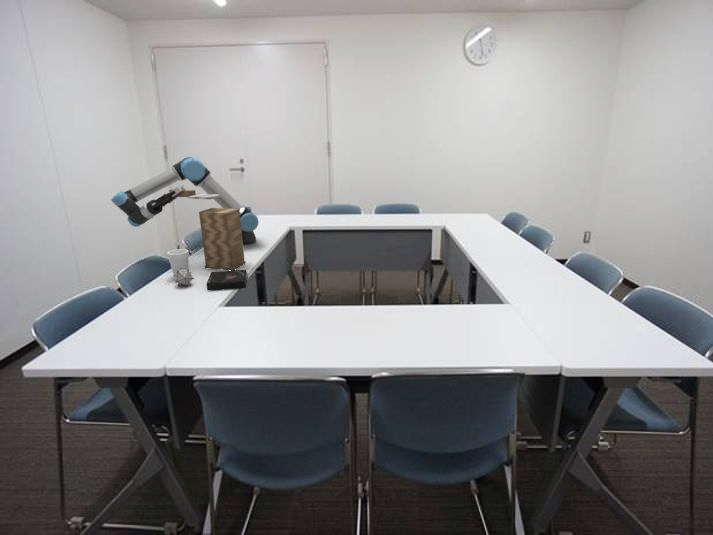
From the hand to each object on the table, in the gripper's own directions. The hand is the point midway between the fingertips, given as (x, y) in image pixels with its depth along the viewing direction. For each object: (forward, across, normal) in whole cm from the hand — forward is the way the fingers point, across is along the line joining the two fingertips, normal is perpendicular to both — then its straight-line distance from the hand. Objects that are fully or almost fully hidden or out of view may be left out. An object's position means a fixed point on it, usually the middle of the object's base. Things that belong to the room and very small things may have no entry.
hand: (182, 188), depth 206 cm
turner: (+3, 0, -7) cm, 8 cm away
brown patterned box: (-3, 0, -45) cm, 45 cm away
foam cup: (-13, +21, -40) cm, 47 cm away
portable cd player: (+10, +23, -53) cm, 59 cm away
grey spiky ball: (-6, +30, -44) cm, 54 cm away
